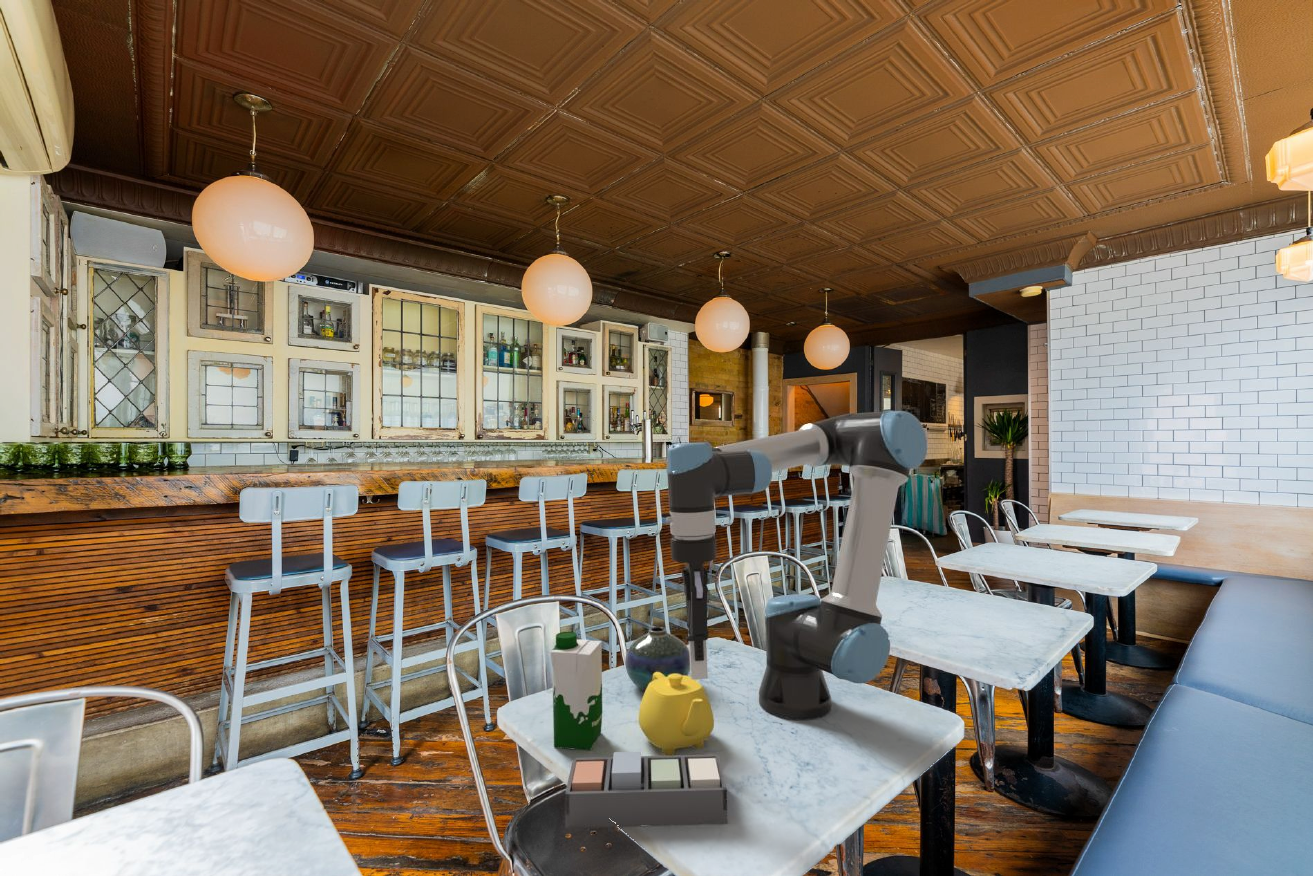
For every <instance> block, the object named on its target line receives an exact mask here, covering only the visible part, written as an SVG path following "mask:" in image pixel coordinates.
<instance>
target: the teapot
mask: <svg viewBox="0 0 1313 876" xmlns="http://www.w3.org/2000/svg"><path fill="white" fill-rule="evenodd" d="M638 724H639V728H640V729H641V731H642V733H643V734H644V735H645V737H646V739H647V740H648V741H649V742H650V743H651V744H652V745H654V746H655V747H657V748H660V749H662V750H661V754H662V756H672V755H675V754H676V749H682V748H688V747H692V748H695V749H702V748H704V747H705V743H704V741H706V740H707V739H708V738H709V736H710V735H711V734H712V732H713V730H714V726H715V719H714V714H713V710H712V706H711V703H710V699H709V698H708V696H707V693H706V691H705V689H704V687H703V685H702V684H701V683H700V682H698V681H697V679H693V680H692V679H691V676H689V675H688V676H685V675H680V674H670V675H668V677H665V676H664V675H663V674H662V673H660V672H655V673H654V674H653V681H652V682H650V683H649V685H648V687H647V689H646V690H644V693H643V696H642V698H641V701H640V705H639V710H638Z"/></svg>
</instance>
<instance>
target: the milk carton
mask: <svg viewBox="0 0 1313 876" xmlns="http://www.w3.org/2000/svg"><path fill="white" fill-rule="evenodd" d="M602 643H603V642H602V640H590V639H578V635H577V633H576V632H574V631H562V632H558V633H557V634H556V635H555V644H554V648H552V650H551V651H550V652H549V654H550V659H551V660H550V661H551V667H552V706H553V707H552V709H553V713H552V715H553V716H552V718H553V747H554V748H557V747H562V748H561V749H568V748H574V749H573V750H579V751H591V749H592V748H593V746H594V745H595V744H596V741H597V740H598V738H599V736H600V735H601V732H602V726H603V725H602V722H603V666H602V665H603V661H602V657H603V656H602V653H603V651H602V649H603V648H602ZM580 749H581V750H580Z"/></svg>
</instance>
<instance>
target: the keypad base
mask: <svg viewBox="0 0 1313 876" xmlns="http://www.w3.org/2000/svg"><path fill="white" fill-rule="evenodd" d="M701 758H715V760H716V764H717V768H718V773H719V777H720V788H690V786H689V779H688V759H701ZM662 759H678V762H679V771H680V782H681V789H651V760H662ZM585 761H604V785H603V791H576V792H572V781H573V776H574V772H575V767H576V762H585ZM612 765H613V756H606V757H605V756H604V757H573V758H572V762H571V765H570V770H569V774H568V778H567V779H568V780H567V783H566V787H565V793H564V815H565V816H564V818H565V819H564V820H565V822H564V824H565V829H582V828H583V829H584V828H586V829H588V828H592V829H593V828H620V827H621V828H622V827H642V826H641V825H651V826H650V827H654V826H655V827H657V826H660V827H662V826H690V825H691V826H693V825H722V824H723V825H725V824H728V820H729V819H728V788H727V784H726V780H725V776H724V771H723V767H722V763H721V759H720V755H719V753H718V754H680V755H675V754H674V755H671V756H666V755H641V790H613V791H612ZM609 818H610V819H611V820H612V821H614V822H616V824H615V823H614V822H612V821H611V820H610V819H609ZM617 825H619V826H617Z"/></svg>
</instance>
